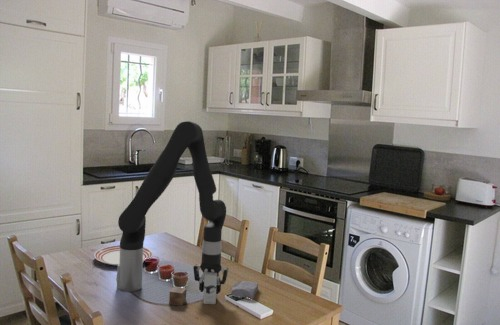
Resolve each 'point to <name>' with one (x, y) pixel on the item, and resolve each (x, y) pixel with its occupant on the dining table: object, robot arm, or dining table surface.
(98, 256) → the dinner plate
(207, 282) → the ink box
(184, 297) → the walnut block
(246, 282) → the stone block
